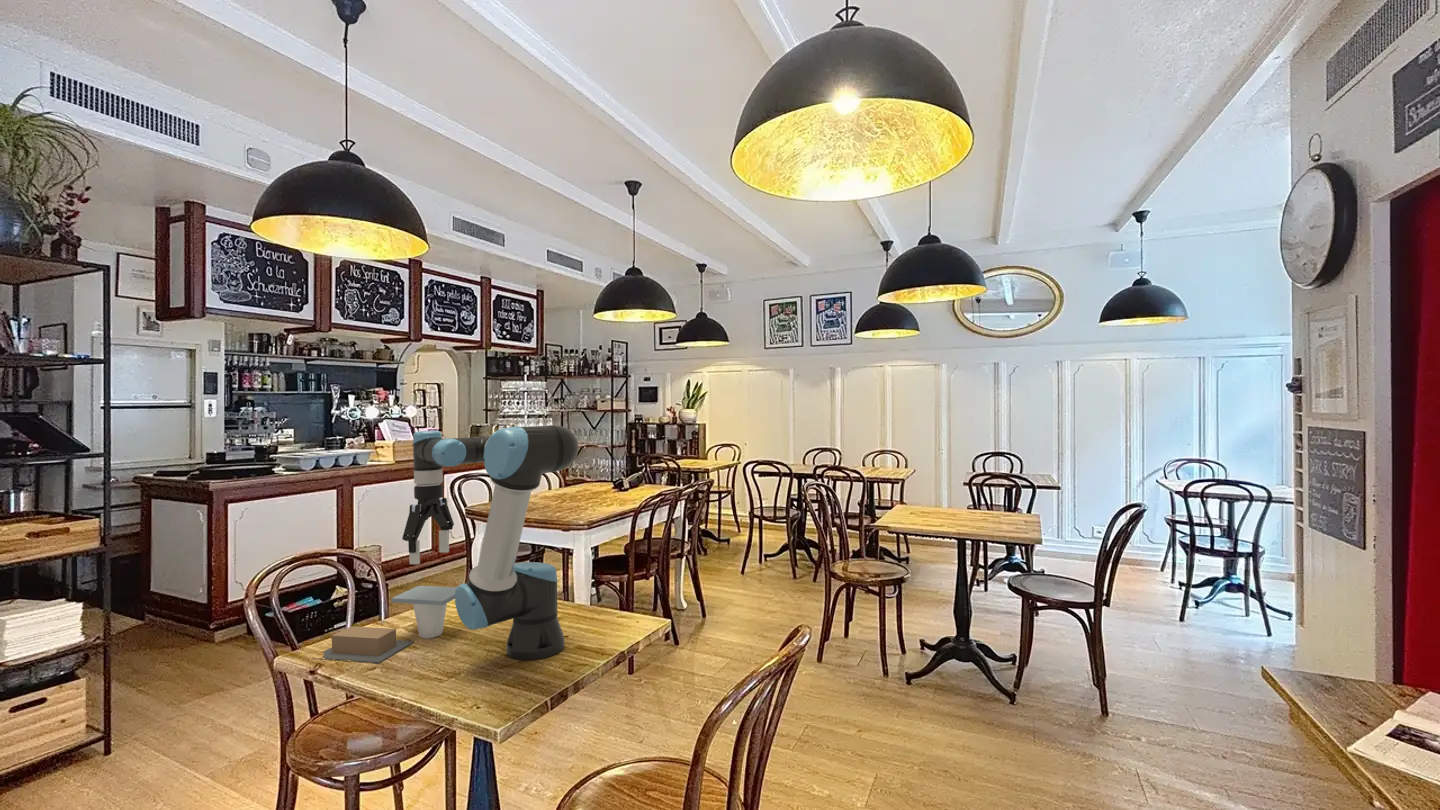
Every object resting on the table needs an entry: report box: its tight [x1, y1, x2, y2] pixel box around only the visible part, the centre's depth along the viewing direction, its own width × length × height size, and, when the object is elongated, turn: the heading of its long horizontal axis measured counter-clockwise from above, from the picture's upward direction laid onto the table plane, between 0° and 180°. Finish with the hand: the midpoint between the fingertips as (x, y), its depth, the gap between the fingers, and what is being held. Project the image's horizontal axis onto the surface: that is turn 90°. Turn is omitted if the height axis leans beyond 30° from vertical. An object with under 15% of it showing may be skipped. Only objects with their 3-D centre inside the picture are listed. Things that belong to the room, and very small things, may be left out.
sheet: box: [390, 585, 458, 605], centre depth 183 cm, size 16×12×1 cm
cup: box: [412, 603, 448, 639], centre depth 183 cm, size 10×10×11 cm
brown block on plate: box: [322, 625, 415, 664], centre depth 172 cm, size 20×14×5 cm
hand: (430, 557), depth 183 cm, fingers open, 13 cm apart
